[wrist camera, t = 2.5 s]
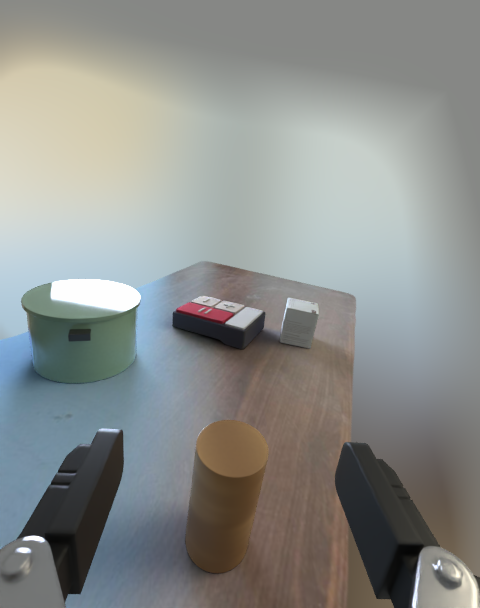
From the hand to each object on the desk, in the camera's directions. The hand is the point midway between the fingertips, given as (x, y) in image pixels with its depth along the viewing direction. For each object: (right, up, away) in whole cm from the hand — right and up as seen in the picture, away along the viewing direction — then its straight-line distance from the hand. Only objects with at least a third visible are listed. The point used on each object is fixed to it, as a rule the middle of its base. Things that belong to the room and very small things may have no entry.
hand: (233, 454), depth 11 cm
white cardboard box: (+11, -2, +51) cm, 53 cm away
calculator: (-4, +1, +52) cm, 52 cm away
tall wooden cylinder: (-2, -14, +15) cm, 20 cm away
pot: (-23, -2, +36) cm, 43 cm away
